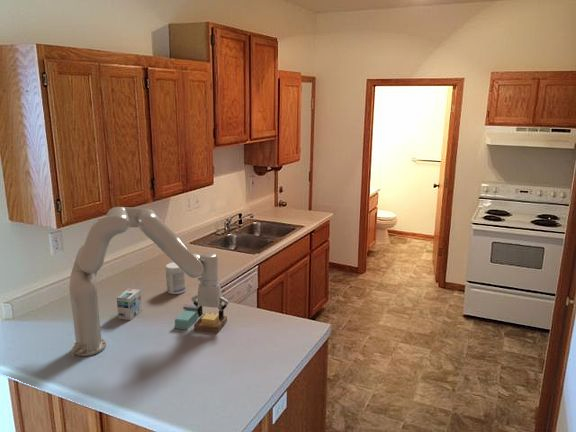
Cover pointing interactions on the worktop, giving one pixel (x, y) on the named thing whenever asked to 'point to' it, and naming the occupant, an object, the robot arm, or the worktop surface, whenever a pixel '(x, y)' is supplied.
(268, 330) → the worktop surface
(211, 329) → the tray
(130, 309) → the light bulb box
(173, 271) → the supplement tub
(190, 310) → the mint slotted bar
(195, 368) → the worktop surface
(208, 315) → the stub
